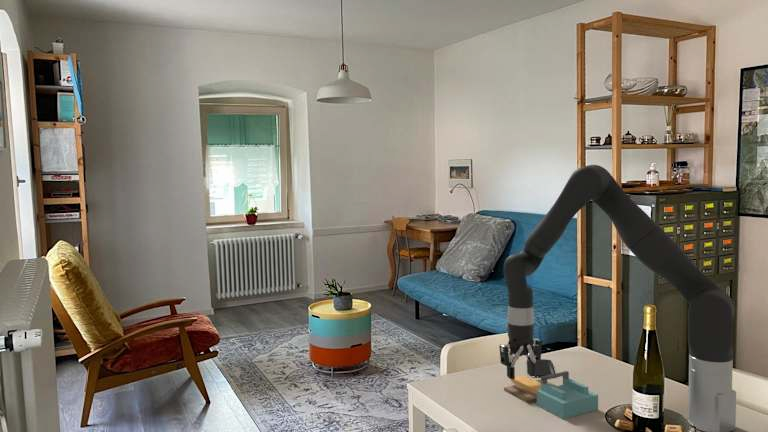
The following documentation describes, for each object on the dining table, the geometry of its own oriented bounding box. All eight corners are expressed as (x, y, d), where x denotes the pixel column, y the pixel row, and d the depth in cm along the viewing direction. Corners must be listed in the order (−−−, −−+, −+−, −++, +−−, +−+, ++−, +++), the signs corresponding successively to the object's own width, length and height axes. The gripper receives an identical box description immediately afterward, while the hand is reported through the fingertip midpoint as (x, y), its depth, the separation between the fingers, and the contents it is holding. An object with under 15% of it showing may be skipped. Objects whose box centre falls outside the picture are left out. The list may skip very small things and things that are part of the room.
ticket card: (553, 393, 164) (553, 389, 164) (541, 396, 162) (541, 392, 162) (523, 379, 176) (523, 375, 176) (511, 381, 174) (511, 377, 174)
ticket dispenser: (598, 409, 154) (598, 381, 154) (563, 418, 149) (562, 389, 149) (570, 396, 163) (570, 370, 163) (536, 405, 158) (536, 377, 158)
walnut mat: (568, 393, 166) (568, 391, 166) (528, 403, 160) (528, 400, 160) (542, 381, 176) (542, 379, 176) (503, 390, 170) (503, 387, 169)
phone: (551, 359, 193) (555, 375, 179) (551, 363, 193) (555, 378, 179) (526, 358, 195) (528, 374, 180) (526, 362, 195) (528, 377, 180)
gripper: (508, 327, 166) (509, 385, 167) (548, 320, 172) (548, 376, 173) (492, 321, 172) (493, 377, 174) (531, 315, 178) (532, 368, 180)
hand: (521, 376), depth 173 cm, fingers open, 6 cm apart
